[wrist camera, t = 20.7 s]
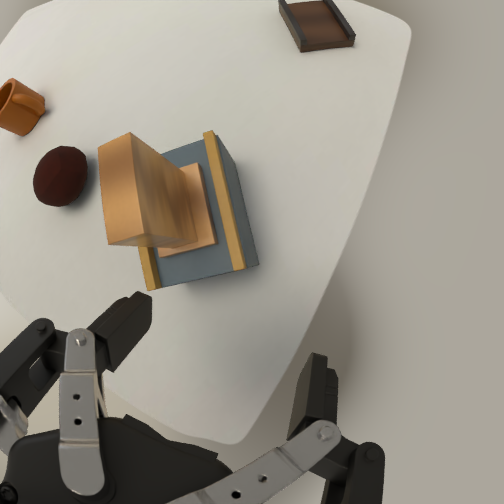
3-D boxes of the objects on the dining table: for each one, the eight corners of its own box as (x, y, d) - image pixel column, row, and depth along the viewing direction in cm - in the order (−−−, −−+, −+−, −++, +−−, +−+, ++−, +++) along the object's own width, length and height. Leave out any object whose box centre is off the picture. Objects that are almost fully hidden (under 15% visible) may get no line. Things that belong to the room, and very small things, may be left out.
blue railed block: (259, 264, 31) (246, 268, 22) (183, 282, 32) (145, 291, 23) (234, 161, 32) (214, 129, 23) (163, 184, 33) (123, 162, 24)
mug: (37, 142, 37) (2, 128, 28) (12, 132, 38) (-18, 120, 29) (59, 97, 36) (28, 77, 27) (32, 93, 38) (4, 77, 29)
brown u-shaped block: (353, 46, 30) (356, 34, 27) (300, 52, 31) (300, 40, 28) (327, 6, 30) (328, -6, 28) (279, 11, 31) (278, -1, 29)
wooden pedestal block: (218, 243, 24) (168, 236, 14) (165, 257, 24) (92, 259, 14) (201, 166, 24) (149, 115, 14) (151, 183, 25) (81, 148, 15)
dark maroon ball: (51, 185, 36) (16, 175, 28) (88, 142, 35) (55, 125, 27) (67, 223, 35) (30, 218, 27) (108, 179, 34) (72, 165, 26)
